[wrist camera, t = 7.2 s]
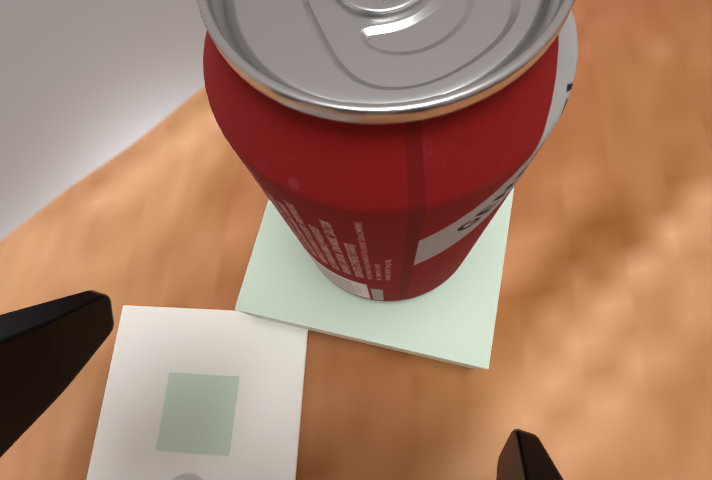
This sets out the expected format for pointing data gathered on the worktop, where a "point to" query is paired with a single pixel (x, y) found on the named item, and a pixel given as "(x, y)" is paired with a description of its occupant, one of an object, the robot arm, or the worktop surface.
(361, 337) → the base brick
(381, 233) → the soda can
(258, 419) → the page
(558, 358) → the worktop surface
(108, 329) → the robot arm
